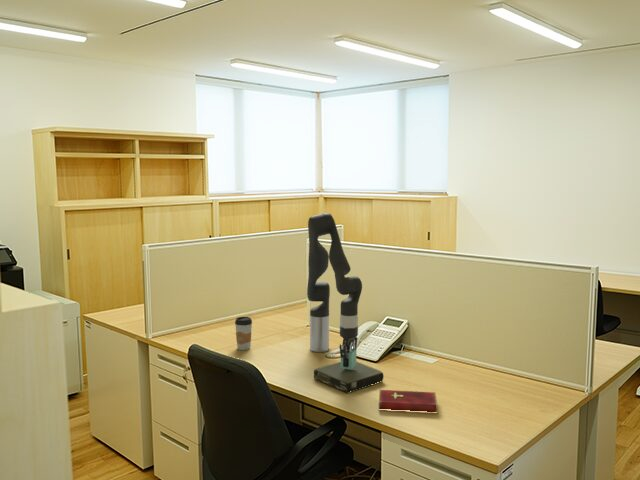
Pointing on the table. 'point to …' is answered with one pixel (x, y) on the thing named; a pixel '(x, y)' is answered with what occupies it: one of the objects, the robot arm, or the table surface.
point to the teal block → (350, 360)
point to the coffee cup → (243, 332)
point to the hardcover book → (408, 400)
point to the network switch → (348, 376)
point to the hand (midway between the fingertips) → (348, 364)
